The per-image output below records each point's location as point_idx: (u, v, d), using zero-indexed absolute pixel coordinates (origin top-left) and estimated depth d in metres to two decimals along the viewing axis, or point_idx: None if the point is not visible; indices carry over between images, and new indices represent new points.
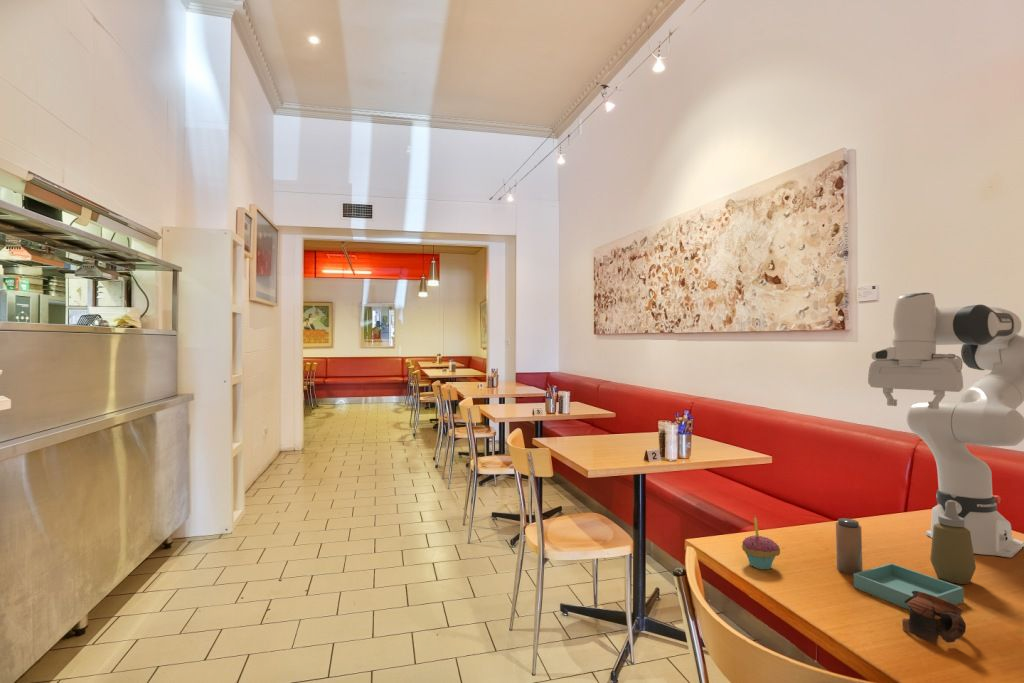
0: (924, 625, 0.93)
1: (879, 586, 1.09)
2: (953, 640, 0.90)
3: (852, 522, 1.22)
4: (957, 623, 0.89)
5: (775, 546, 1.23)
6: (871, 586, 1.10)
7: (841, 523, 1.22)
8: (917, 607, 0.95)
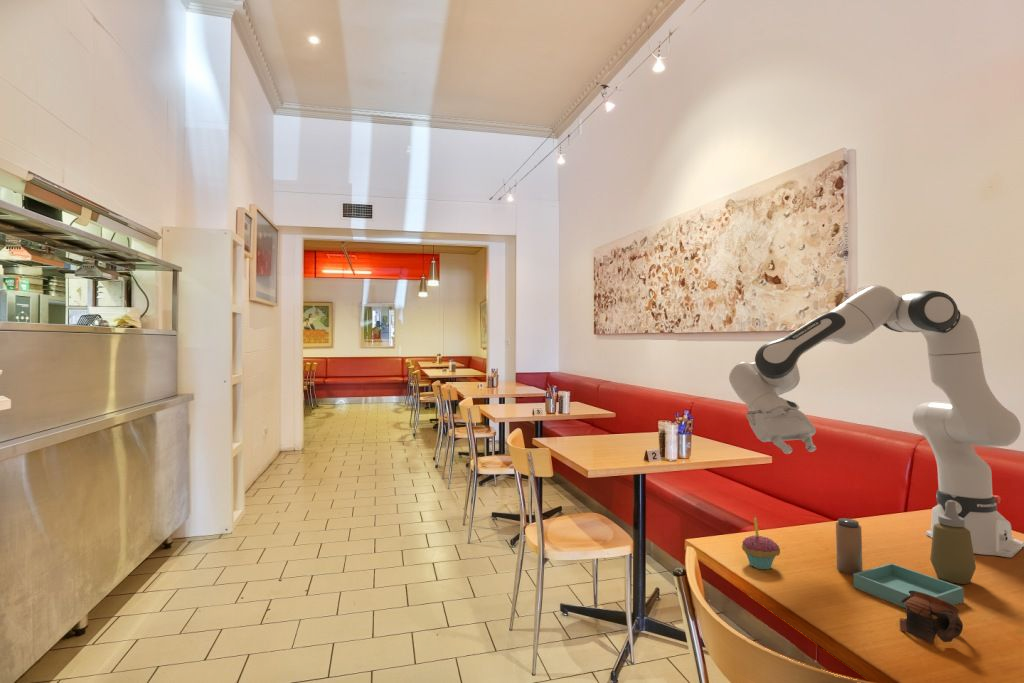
0: (921, 625, 0.93)
1: (879, 586, 1.09)
2: (950, 640, 0.90)
3: (852, 522, 1.22)
4: (954, 623, 0.89)
5: (775, 546, 1.23)
6: (871, 586, 1.10)
7: (841, 523, 1.22)
8: (914, 607, 0.95)
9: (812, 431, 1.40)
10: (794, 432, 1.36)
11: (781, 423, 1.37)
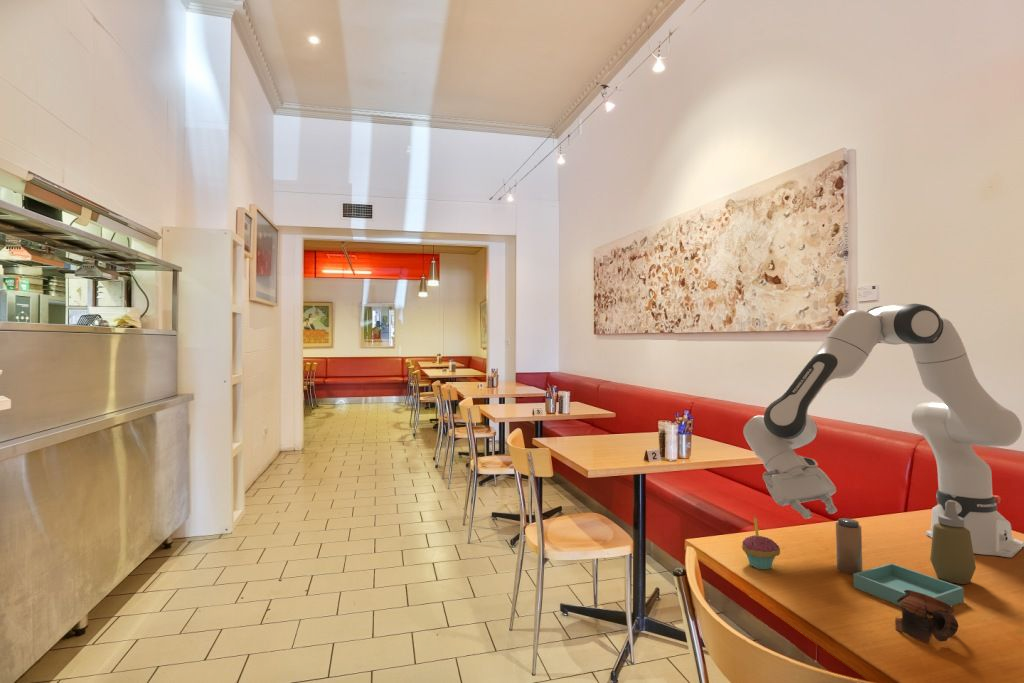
0: (916, 624, 0.93)
1: (879, 586, 1.09)
2: (945, 639, 0.91)
3: (852, 522, 1.22)
4: (949, 622, 0.89)
5: (775, 546, 1.23)
6: (871, 586, 1.10)
7: (841, 523, 1.22)
8: (910, 606, 0.95)
9: (832, 490, 1.34)
10: (813, 494, 1.31)
11: (799, 484, 1.32)
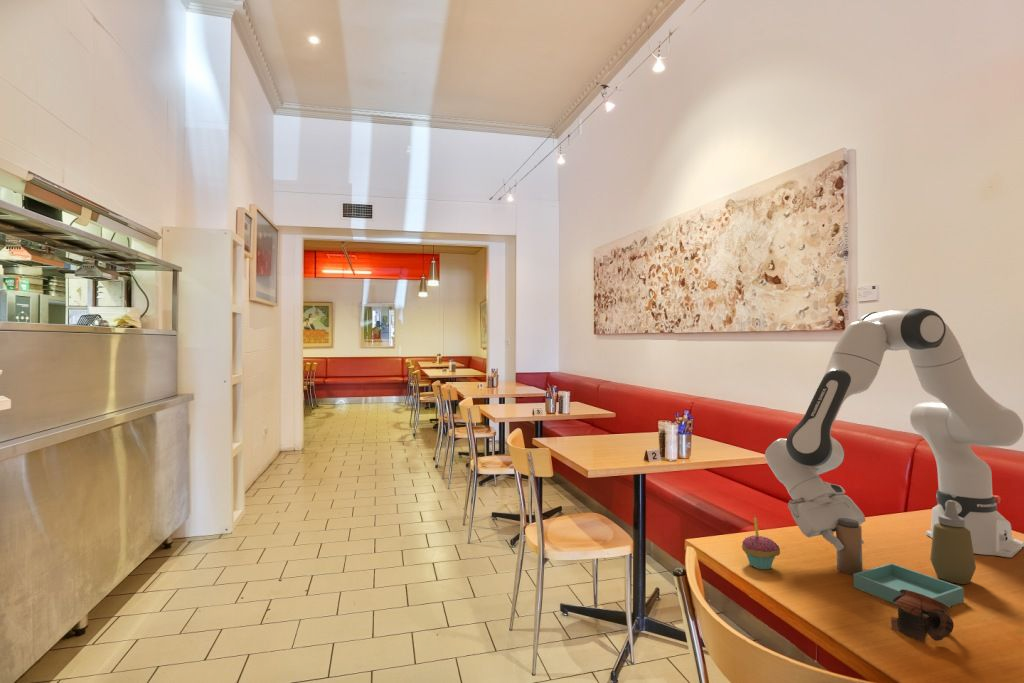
0: (912, 624, 0.93)
1: (879, 586, 1.09)
2: (941, 638, 0.91)
3: (852, 522, 1.22)
4: (945, 621, 0.89)
5: (775, 546, 1.23)
6: (871, 586, 1.10)
7: (841, 523, 1.22)
8: (905, 606, 0.95)
9: (861, 520, 1.27)
10: None
11: (827, 514, 1.25)
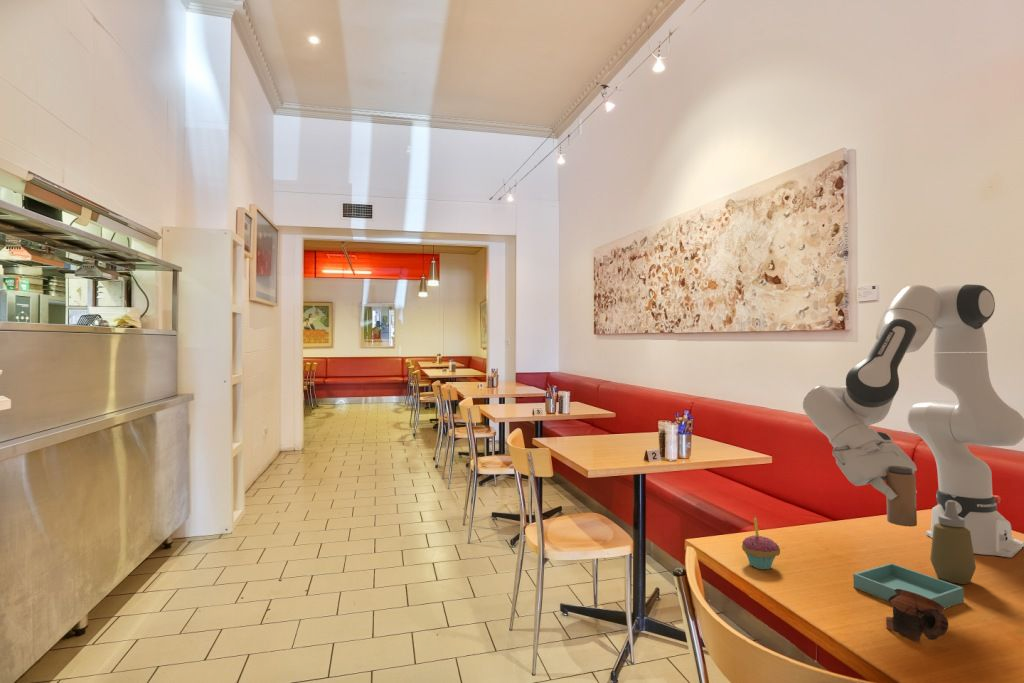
0: (907, 623, 0.93)
1: (879, 586, 1.09)
2: (936, 637, 0.91)
3: (905, 469, 1.10)
4: (940, 621, 0.90)
5: (775, 546, 1.23)
6: (871, 586, 1.10)
7: (893, 470, 1.11)
8: (900, 605, 0.95)
9: (912, 469, 1.16)
10: None
11: (876, 461, 1.14)
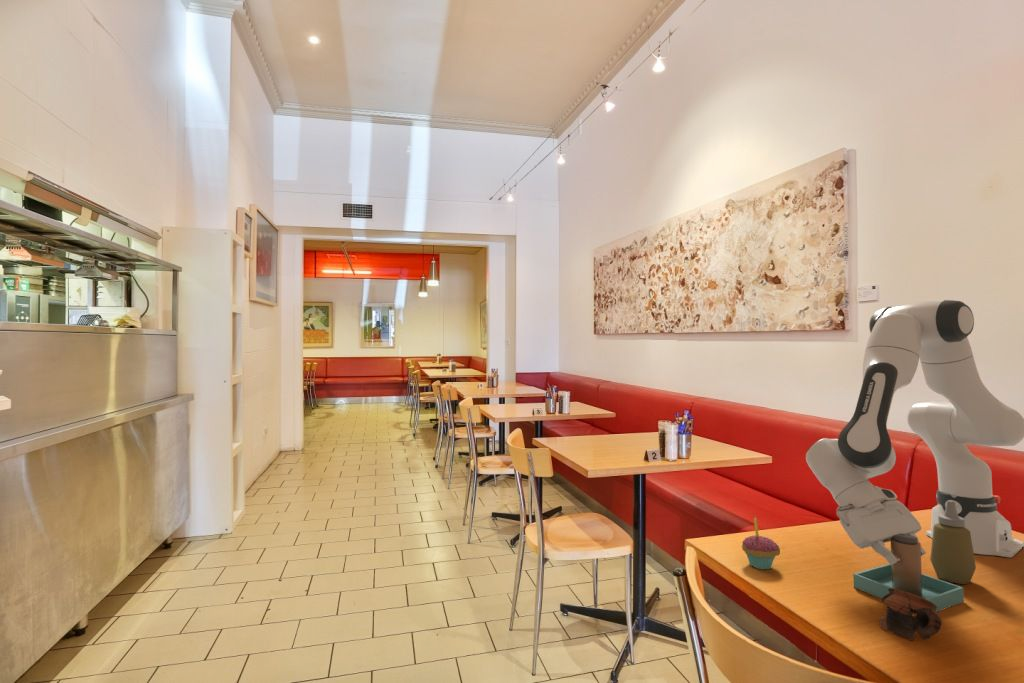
0: (901, 623, 0.94)
1: (879, 586, 1.09)
2: (929, 636, 0.91)
3: (910, 538, 1.09)
4: (933, 620, 0.90)
5: (775, 546, 1.23)
6: (871, 586, 1.10)
7: (898, 539, 1.10)
8: (894, 604, 0.96)
9: (917, 528, 1.15)
10: (897, 533, 1.12)
11: (880, 522, 1.13)
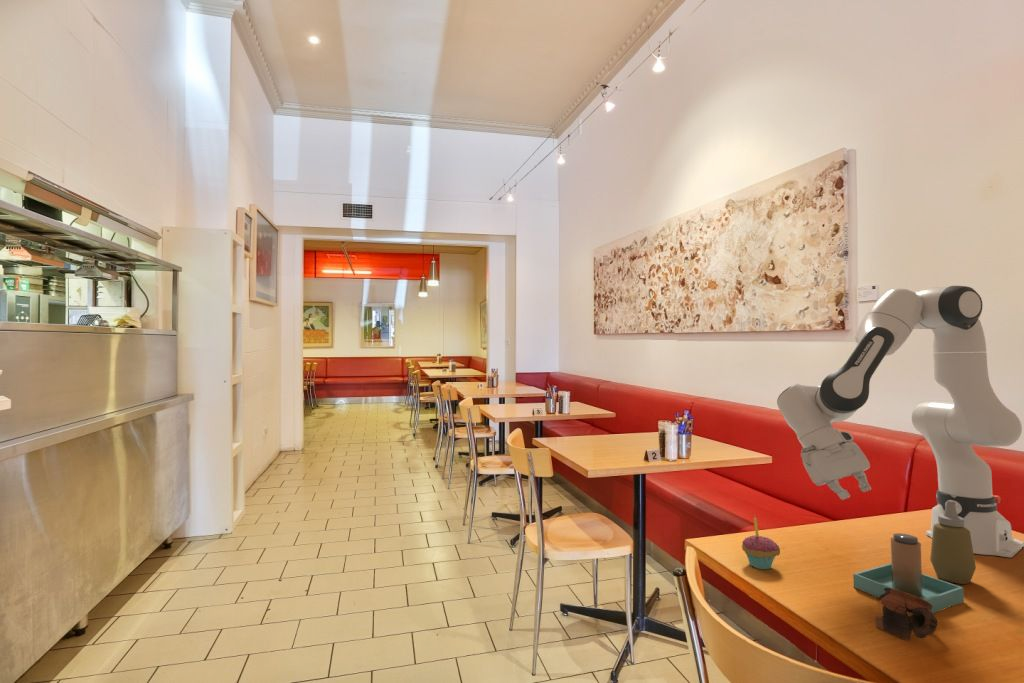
0: (897, 622, 0.94)
1: (879, 586, 1.09)
2: (925, 636, 0.92)
3: (910, 538, 1.09)
4: (929, 619, 0.90)
5: (775, 546, 1.23)
6: (871, 586, 1.10)
7: (898, 539, 1.10)
8: (890, 604, 0.96)
9: (866, 467, 1.29)
10: (850, 472, 1.25)
11: (837, 462, 1.25)
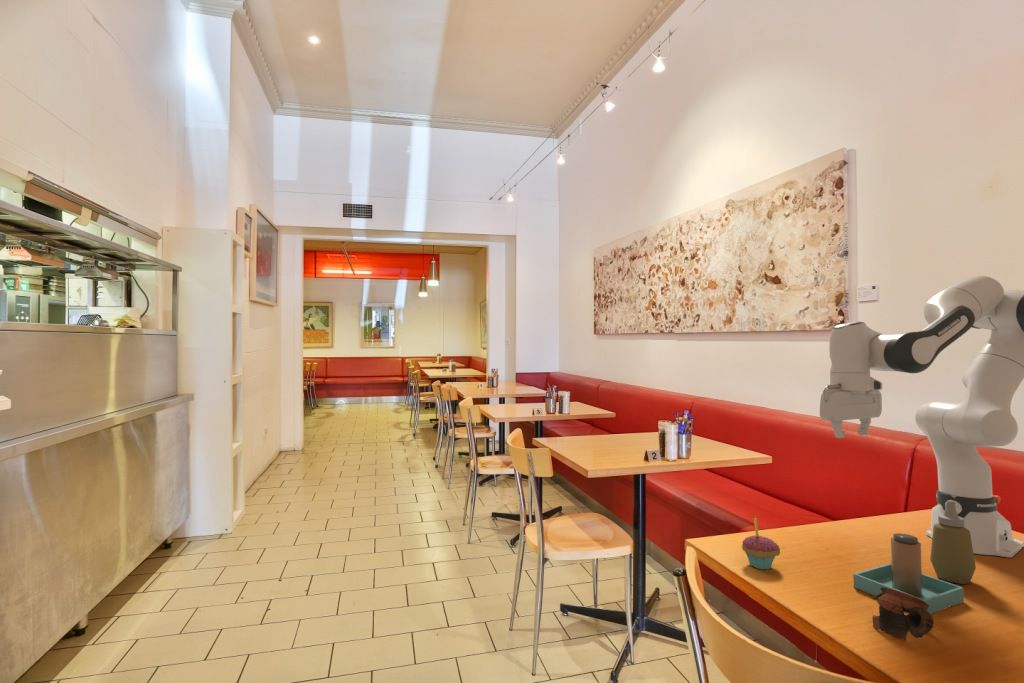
0: (893, 622, 0.94)
1: (879, 586, 1.09)
2: (921, 635, 0.92)
3: (910, 538, 1.09)
4: (925, 619, 0.90)
5: (775, 546, 1.23)
6: (871, 586, 1.10)
7: (898, 539, 1.10)
8: (887, 604, 0.96)
9: (876, 416, 1.34)
10: (858, 418, 1.31)
11: (852, 406, 1.30)
